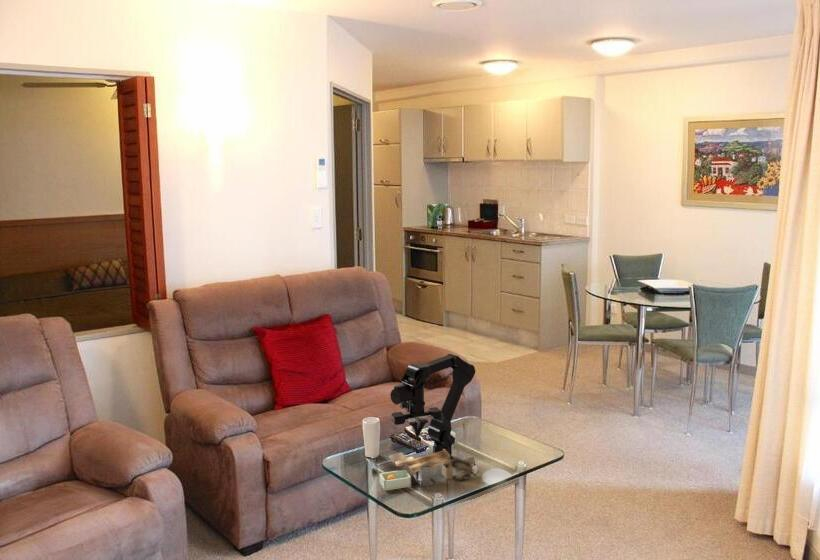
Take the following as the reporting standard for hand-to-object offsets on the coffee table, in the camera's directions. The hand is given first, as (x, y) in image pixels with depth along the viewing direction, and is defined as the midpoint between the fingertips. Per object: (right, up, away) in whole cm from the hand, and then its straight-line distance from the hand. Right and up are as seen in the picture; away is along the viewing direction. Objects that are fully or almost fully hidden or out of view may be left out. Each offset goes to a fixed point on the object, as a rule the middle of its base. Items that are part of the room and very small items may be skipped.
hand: (417, 437), depth 276 cm
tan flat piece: (+1, -8, -6) cm, 10 cm away
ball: (-9, -13, -12) cm, 20 cm away
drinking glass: (-18, -10, +12) cm, 24 cm away
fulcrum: (+6, -14, -7) cm, 16 cm away
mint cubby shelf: (-8, -15, -11) cm, 20 cm away
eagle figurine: (+18, -14, -6) cm, 23 cm away
